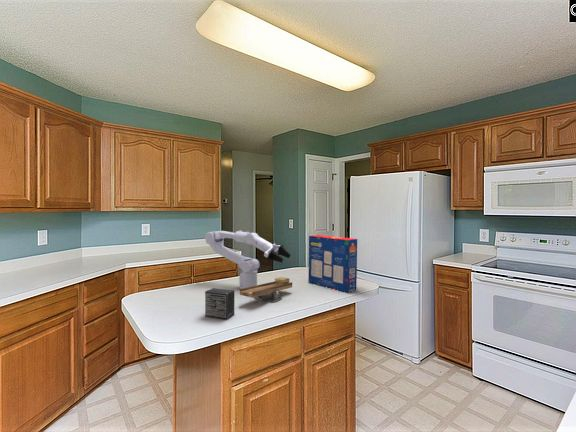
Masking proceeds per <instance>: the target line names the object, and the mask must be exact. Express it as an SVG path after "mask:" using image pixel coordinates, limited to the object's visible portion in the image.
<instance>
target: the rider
mask: <svg viewBox="0 0 576 432" xmlns="http://www.w3.org/2000/svg"><path fill="white" fill-rule="evenodd" d="M274 281H275V284H276V285H282V284H287V283H290V277H283V276H280V277H275V278H274Z"/></svg>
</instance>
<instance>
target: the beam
mask: <svg viewBox="0 0 576 432" xmlns="http://www.w3.org/2000/svg"><path fill="white" fill-rule="evenodd" d="M291 288H293V282H289V283H287V284H282V285H276V284H275V280H274V281H271V282H265V283H261V284H257V285H256V286H251V287H247V288H242V289H240V288H239V295H240V296H243V297H249V298H252V299H254V297H258V296H262V295H265V294H269V293H273V291H274V290H279V292H281V291H285V290H287V289H291Z"/></svg>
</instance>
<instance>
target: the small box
mask: <svg viewBox="0 0 576 432" xmlns="http://www.w3.org/2000/svg"><path fill="white" fill-rule="evenodd" d="M204 295H205V298H204V299H205V303H204V304H205V308H204V309H205V311H204V312H205V314H204V317H206V318H211V319H213V318H214V319H221V320H225V321H227V320H229V319H230V318H232V317H234V316H235V297H236V296H235V289H225V288H215V287H213V288H211V289H207V290H205V292H204Z"/></svg>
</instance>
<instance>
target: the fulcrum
mask: <svg viewBox="0 0 576 432" xmlns="http://www.w3.org/2000/svg"><path fill="white" fill-rule="evenodd" d="M253 299H255V300H258V301H262V302H268V303H270V304H274V303H277V302H279V301H281V300H282V299H283V297H282V296H280V291H279V290H274V291H273V293H269V294H265V295H262V296H258V297H254V298H253Z"/></svg>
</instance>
